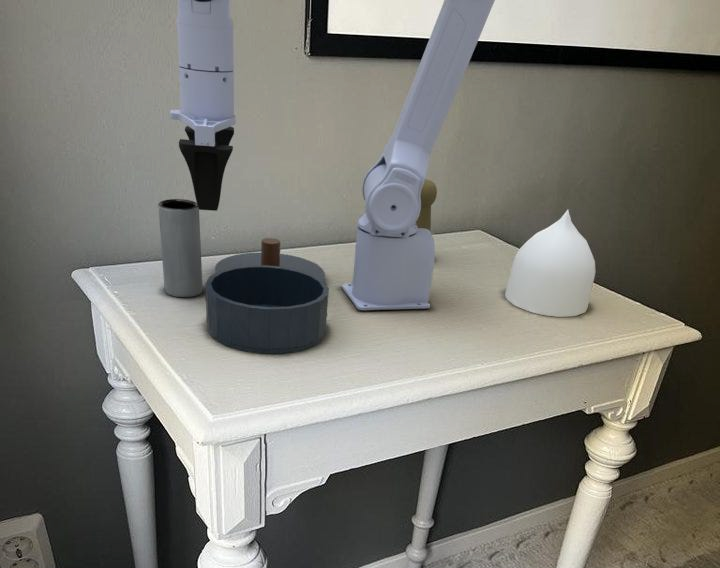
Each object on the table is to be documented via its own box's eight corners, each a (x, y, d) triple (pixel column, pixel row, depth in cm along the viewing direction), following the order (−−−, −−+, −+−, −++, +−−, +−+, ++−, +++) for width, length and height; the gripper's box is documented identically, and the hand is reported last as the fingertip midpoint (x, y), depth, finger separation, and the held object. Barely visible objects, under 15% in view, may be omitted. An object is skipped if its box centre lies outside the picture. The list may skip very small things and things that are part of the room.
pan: (310, 305, 90) (312, 264, 87) (338, 351, 79) (342, 307, 77) (200, 307, 86) (199, 265, 83) (215, 356, 76) (214, 310, 73)
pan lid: (310, 259, 104) (311, 224, 101) (336, 297, 93) (339, 258, 90) (208, 260, 99) (207, 224, 97) (223, 299, 88) (222, 259, 86)
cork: (387, 249, 111) (396, 172, 105) (426, 252, 111) (437, 175, 105) (392, 262, 106) (401, 182, 100) (433, 265, 107) (445, 186, 100)
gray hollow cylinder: (193, 300, 87) (188, 211, 82) (158, 294, 88) (150, 205, 82) (208, 287, 91) (205, 202, 85) (175, 282, 92) (169, 196, 86)
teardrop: (605, 311, 97) (632, 218, 90) (543, 321, 92) (567, 224, 85) (548, 282, 105) (569, 195, 98) (488, 290, 100) (505, 199, 93)
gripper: (173, 57, 83) (179, 183, 91) (161, 73, 72) (169, 215, 79) (236, 63, 84) (236, 186, 92) (234, 79, 73) (235, 219, 80)
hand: (209, 200), depth 86 cm, fingers open, 7 cm apart
